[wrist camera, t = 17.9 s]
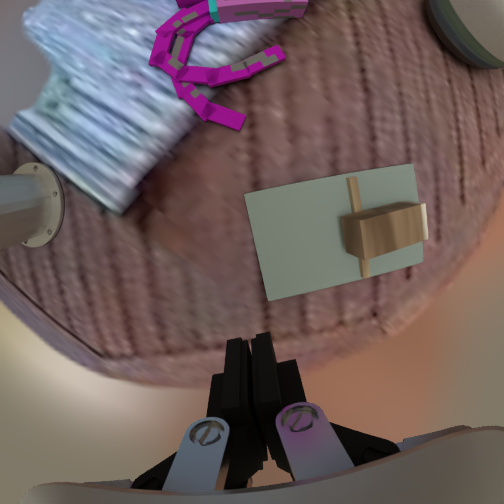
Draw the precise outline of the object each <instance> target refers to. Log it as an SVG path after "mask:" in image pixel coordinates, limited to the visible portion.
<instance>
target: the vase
mask: <svg viewBox="0 0 504 504" xmlns="http://www.w3.org/2000/svg"><path fill="white" fill-rule="evenodd" d="M426 12H427V16H428V19H429V21H430V23H431V25H432V27H433V29H434V31H435V33H436V34H437V36H438V37H439V38H440V40H441V41H442V42H443V44H444V45H445V46H446V47H447V48H448V49H449V50H450V51H451V52H452V53H453V54H454V55H455V56H457V57H458V58H459V59H460V60H462V61H463V62H465V63H467V64H469V65H471V66H474V67H477V68H481V69H497V68H502V67H504V0H426Z"/></svg>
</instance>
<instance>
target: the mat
mask: <svg viewBox="0 0 504 504" xmlns="http://www.w3.org/2000/svg"><path fill="white" fill-rule="evenodd" d="M348 177H357V181H358V187H359V193H360V199H361V205H362V211H364V210H368V209H372V208H376V207H380V206H384V205H388V204H392V203H396V202H400V201H410V202H418V203H419V200H418V192H417V185H416V178H415V172H414V165H413V163H411V164H403V165H397V166H390V167H383V168H377V169H370V170H364V171H358V172H352V173H347V174H341V175H335V176H330V177H324V178H319V179H314V180H308V181H303V182H298V183H293V184H288V185H283V186H278V187H274V188H269V189H264V190H260V191H255V192H251V193H246V194H244V197H245V201H246V206H247V210H248V215H249V219H250V223H251V228H252V232H253V237H254V241H255V245H256V250H257V254H258V259H259V263H260V268H261V272H262V277H263V281H264V285H265V290H266V294H267V299H268V301H272V300H276V299H281V298H285V297H290V296H294V295H299V294H303V293H307V292H311V291H316V290H320V289H324V288H328V287H332V286H336V285H340V284H344V283H348V282H352V281H356V280H360V279H363V278H362V277H361V276H360V268H359V259H358V257H355V256H353V255H351V254H349V253H346V249H345V242H344V236H343V229H342V223H341V217H340V216H344V215H348V214H352V209H351V203H350V197H349V191H348V186H347V180H346V178H348ZM421 262H423V245H422V241H421V242H418V243H416V244H413V245H410V246H407V247H404V248H401V249H398V250H395V251H392V252H390V253H387V254H384V255H381V256H378V257H375V258H372V259H369V267H370V277H371V276H375V275H379V274H382V273H386V272H390V271H393V270H397V269H400V268H404V267H408V266H411V265H415V264H418V263H421Z"/></svg>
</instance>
